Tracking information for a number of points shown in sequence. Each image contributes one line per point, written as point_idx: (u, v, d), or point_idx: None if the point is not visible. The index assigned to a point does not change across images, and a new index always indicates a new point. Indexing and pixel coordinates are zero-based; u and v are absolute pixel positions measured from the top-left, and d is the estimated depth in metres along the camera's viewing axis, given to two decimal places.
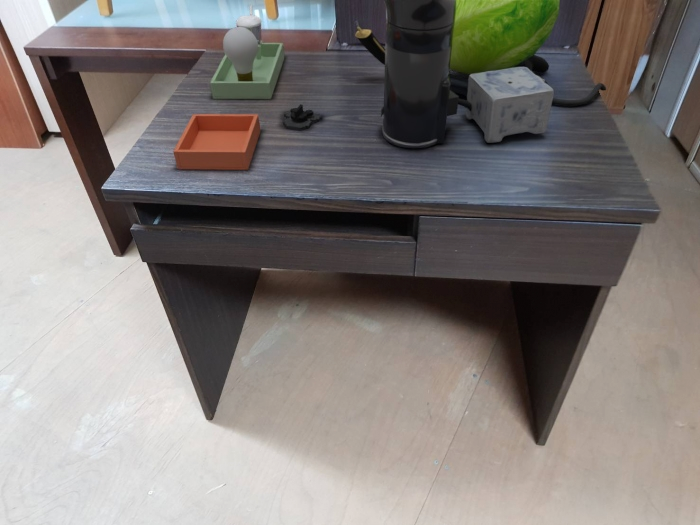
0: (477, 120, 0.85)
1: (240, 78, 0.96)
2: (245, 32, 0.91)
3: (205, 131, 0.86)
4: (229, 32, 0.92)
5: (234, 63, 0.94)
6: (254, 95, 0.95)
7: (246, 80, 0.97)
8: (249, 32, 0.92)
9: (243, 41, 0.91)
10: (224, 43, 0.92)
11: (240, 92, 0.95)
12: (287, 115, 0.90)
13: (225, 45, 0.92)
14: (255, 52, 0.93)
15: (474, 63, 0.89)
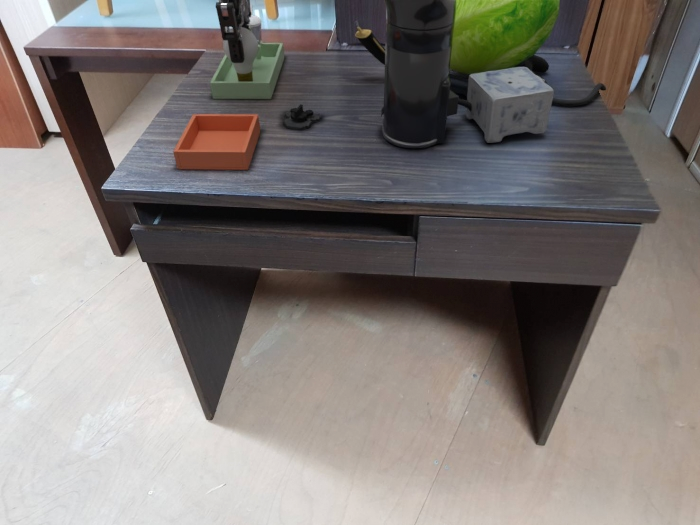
0: (477, 120, 0.85)
1: (240, 78, 0.96)
2: (245, 32, 0.91)
3: (205, 131, 0.86)
4: None
5: (234, 63, 0.94)
6: (254, 95, 0.95)
7: (246, 80, 0.97)
8: (249, 32, 0.92)
9: (243, 41, 0.91)
10: (224, 43, 0.92)
11: (240, 92, 0.95)
12: (287, 115, 0.90)
13: (225, 45, 0.92)
14: (255, 52, 0.93)
15: (474, 63, 0.89)
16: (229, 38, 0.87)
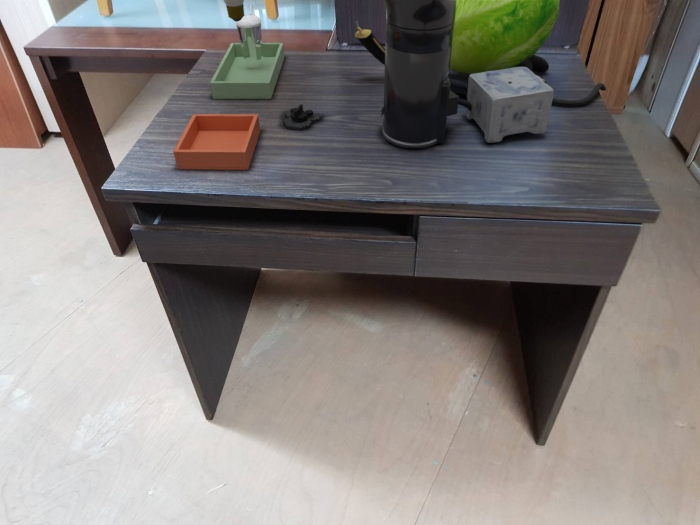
0: (477, 120, 0.85)
1: (230, 12, 0.88)
2: None
3: (205, 131, 0.86)
4: None
5: None
6: (254, 95, 0.95)
7: (237, 14, 0.89)
8: None
9: None
10: None
11: (240, 92, 0.95)
12: (287, 115, 0.90)
13: None
14: None
15: (474, 63, 0.89)
16: None
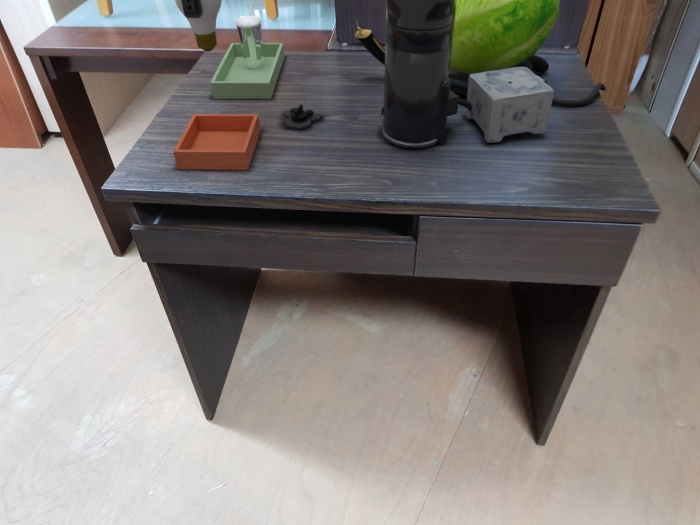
0: (477, 120, 0.85)
1: (199, 41, 0.74)
2: None
3: (205, 131, 0.86)
4: None
5: (190, 20, 0.71)
6: (254, 95, 0.95)
7: (207, 43, 0.74)
8: None
9: None
10: None
11: (240, 92, 0.95)
12: (287, 115, 0.90)
13: None
14: (217, 5, 0.70)
15: (474, 63, 0.89)
16: None
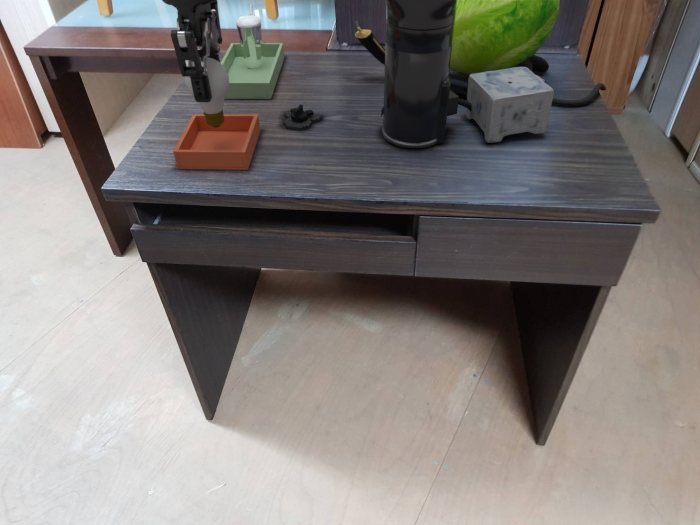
0: (477, 120, 0.85)
1: (208, 119, 0.78)
2: (211, 64, 0.73)
3: (205, 131, 0.86)
4: (192, 64, 0.73)
5: None
6: (254, 95, 0.95)
7: (215, 121, 0.79)
8: (217, 64, 0.74)
9: (210, 76, 0.73)
10: (186, 78, 0.74)
11: (240, 92, 0.95)
12: (287, 115, 0.90)
13: (187, 81, 0.74)
14: (225, 88, 0.75)
15: (474, 63, 0.89)
16: (190, 74, 0.69)
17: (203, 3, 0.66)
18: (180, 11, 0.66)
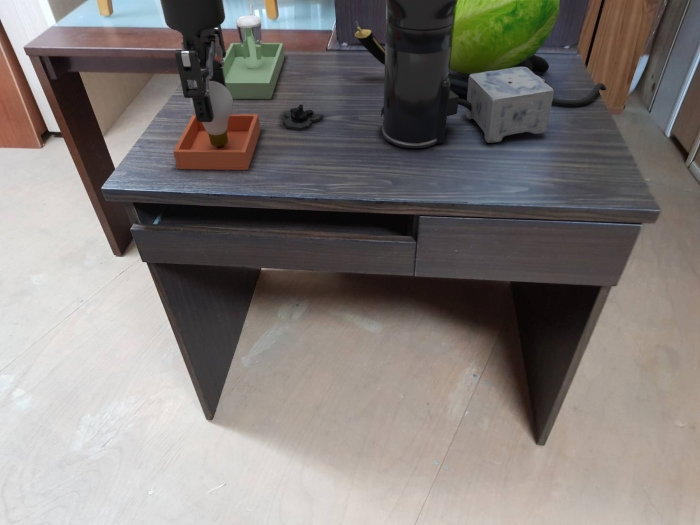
0: (477, 120, 0.85)
1: (212, 140, 0.81)
2: (216, 88, 0.76)
3: (205, 131, 0.86)
4: None
5: (204, 123, 0.78)
6: (254, 95, 0.95)
7: (219, 142, 0.81)
8: (221, 88, 0.76)
9: (214, 100, 0.75)
10: (191, 101, 0.76)
11: (240, 92, 0.95)
12: (287, 115, 0.90)
13: (192, 104, 0.76)
14: (229, 111, 0.78)
15: (474, 63, 0.89)
16: (192, 95, 0.70)
17: (207, 28, 0.68)
18: (185, 36, 0.68)
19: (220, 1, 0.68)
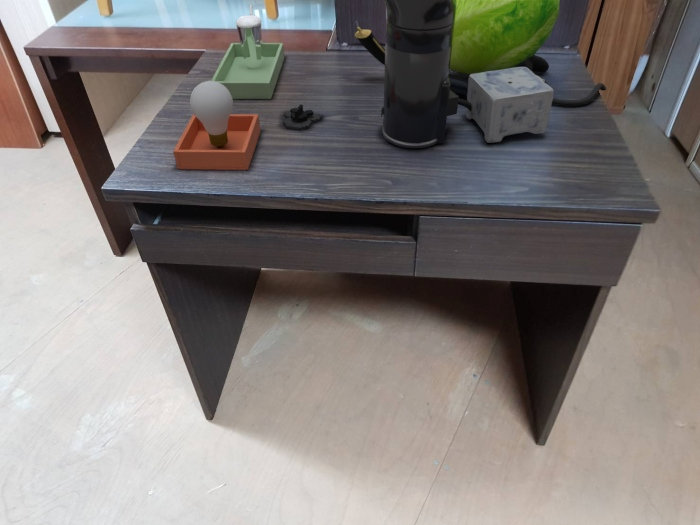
0: (477, 120, 0.85)
1: (212, 140, 0.81)
2: (216, 88, 0.76)
3: (205, 131, 0.86)
4: (197, 88, 0.76)
5: (204, 123, 0.78)
6: (254, 95, 0.95)
7: (219, 142, 0.81)
8: (221, 88, 0.76)
9: (214, 100, 0.75)
10: (191, 101, 0.76)
11: (240, 92, 0.95)
12: (287, 115, 0.90)
13: (192, 104, 0.76)
14: (229, 111, 0.78)
15: (474, 63, 0.89)
16: None
17: None
18: None
19: None
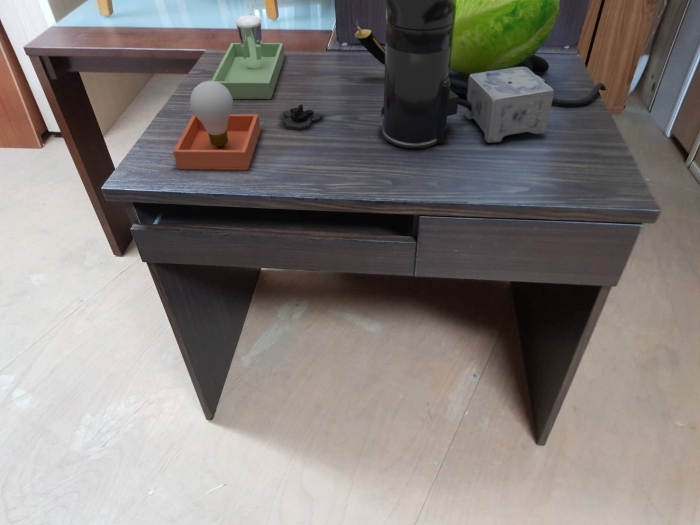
0: (477, 120, 0.85)
1: (212, 140, 0.81)
2: (216, 88, 0.76)
3: (205, 131, 0.86)
4: (197, 88, 0.76)
5: (204, 123, 0.78)
6: (254, 95, 0.95)
7: (219, 142, 0.81)
8: (221, 88, 0.76)
9: (214, 100, 0.75)
10: (191, 101, 0.76)
11: (240, 92, 0.95)
12: (287, 115, 0.90)
13: (192, 104, 0.76)
14: (229, 111, 0.78)
15: (474, 63, 0.89)
16: None
17: None
18: None
19: None
